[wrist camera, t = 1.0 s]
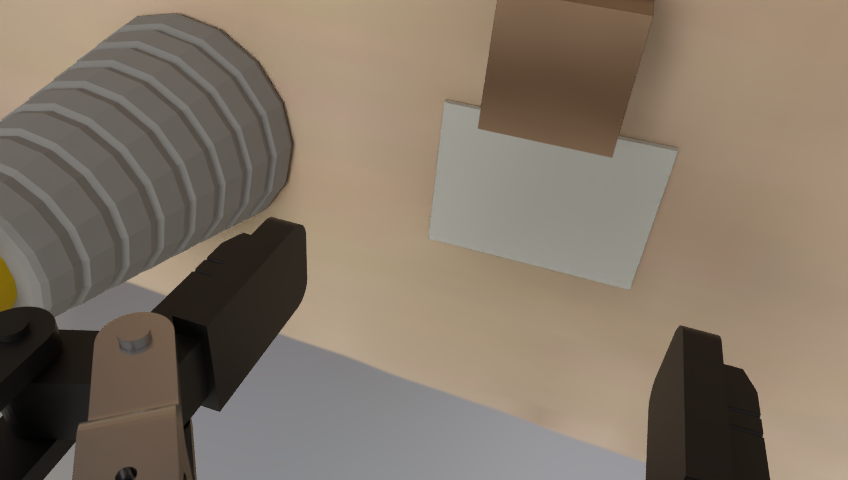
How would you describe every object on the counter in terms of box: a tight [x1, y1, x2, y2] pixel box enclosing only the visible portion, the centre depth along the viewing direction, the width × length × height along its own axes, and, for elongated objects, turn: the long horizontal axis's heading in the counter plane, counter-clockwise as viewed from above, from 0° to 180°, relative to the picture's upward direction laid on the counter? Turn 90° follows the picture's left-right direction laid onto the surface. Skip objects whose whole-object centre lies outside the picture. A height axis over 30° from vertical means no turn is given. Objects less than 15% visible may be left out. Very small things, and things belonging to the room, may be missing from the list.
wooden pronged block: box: [478, 0, 654, 158], centre depth 25 cm, size 5×5×7 cm
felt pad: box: [428, 99, 678, 290], centre depth 32 cm, size 8×11×1 cm
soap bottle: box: [0, 14, 292, 317], centre depth 29 cm, size 12×12×20 cm
